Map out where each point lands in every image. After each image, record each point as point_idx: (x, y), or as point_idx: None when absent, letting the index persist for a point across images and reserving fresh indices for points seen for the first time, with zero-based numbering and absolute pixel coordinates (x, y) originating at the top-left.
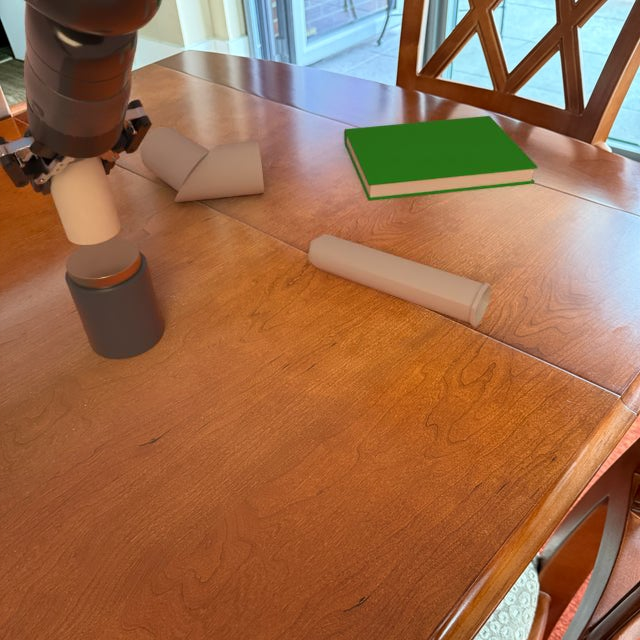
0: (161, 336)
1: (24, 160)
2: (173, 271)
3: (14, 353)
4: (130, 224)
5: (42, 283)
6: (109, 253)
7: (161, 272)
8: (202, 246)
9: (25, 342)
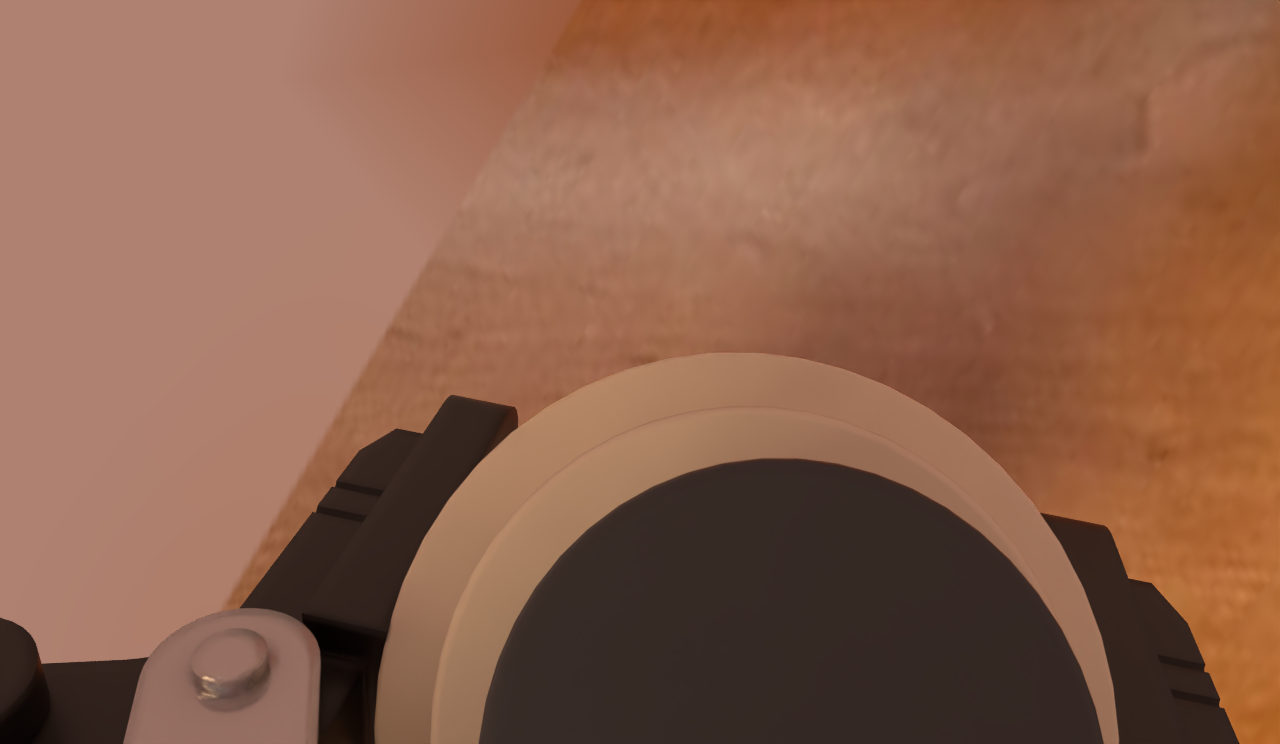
0: None
1: (147, 673)
2: (1065, 449)
3: (376, 404)
4: (1123, 27)
5: (656, 120)
6: None
7: (1024, 414)
8: (1269, 397)
9: (431, 380)
